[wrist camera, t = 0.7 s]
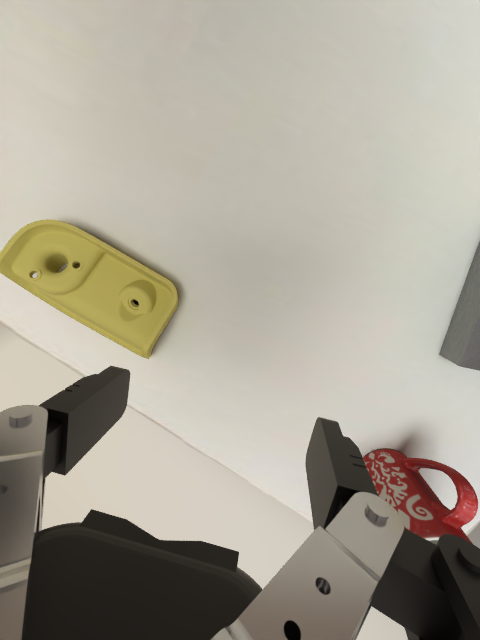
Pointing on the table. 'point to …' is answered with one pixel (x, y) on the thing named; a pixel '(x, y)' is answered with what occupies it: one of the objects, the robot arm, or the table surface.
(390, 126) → the table surface
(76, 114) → the table surface
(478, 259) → the jig
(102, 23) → the table surface
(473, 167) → the table surface
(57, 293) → the plastic component
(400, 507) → the mug
